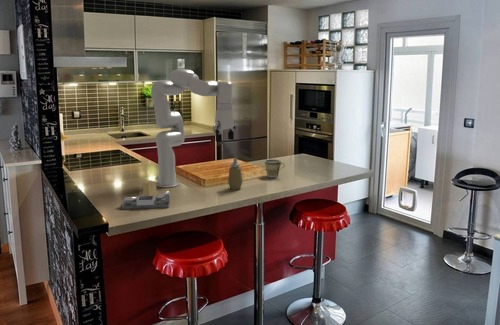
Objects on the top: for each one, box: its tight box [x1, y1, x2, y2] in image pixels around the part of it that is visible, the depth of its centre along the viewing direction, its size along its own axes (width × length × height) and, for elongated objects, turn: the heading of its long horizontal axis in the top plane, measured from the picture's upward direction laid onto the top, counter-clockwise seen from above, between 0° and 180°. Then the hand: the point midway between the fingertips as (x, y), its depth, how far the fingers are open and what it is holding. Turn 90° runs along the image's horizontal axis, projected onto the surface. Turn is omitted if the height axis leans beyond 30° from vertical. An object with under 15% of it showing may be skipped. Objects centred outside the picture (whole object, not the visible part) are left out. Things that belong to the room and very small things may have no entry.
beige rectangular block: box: [142, 180, 158, 197], centre depth 229 cm, size 5×5×8 cm
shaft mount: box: [121, 190, 171, 211], centre depth 213 cm, size 23×9×7 cm, turn 99°
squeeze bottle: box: [227, 157, 243, 191], centre depth 245 cm, size 8×8×18 cm
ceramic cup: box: [264, 158, 285, 179], centre depth 274 cm, size 13×10×10 cm
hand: (224, 140), depth 221 cm, fingers open, 9 cm apart
